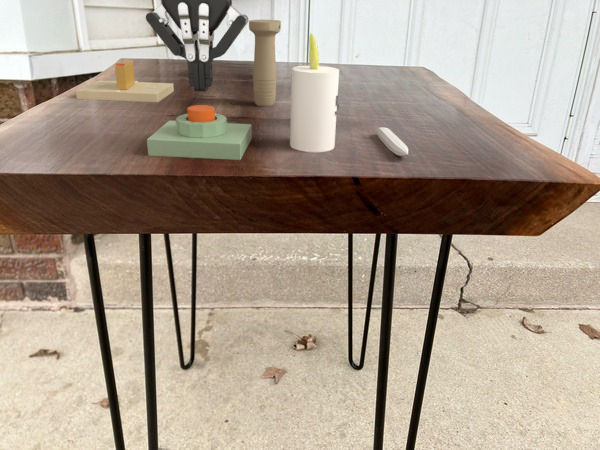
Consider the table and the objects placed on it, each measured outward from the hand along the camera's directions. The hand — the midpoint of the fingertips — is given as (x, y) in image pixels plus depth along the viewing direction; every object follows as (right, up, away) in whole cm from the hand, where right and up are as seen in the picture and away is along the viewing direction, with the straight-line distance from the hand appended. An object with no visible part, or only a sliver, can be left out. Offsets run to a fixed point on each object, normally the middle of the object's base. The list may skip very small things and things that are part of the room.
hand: (201, 90), depth 69 cm
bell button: (0, -4, +2) cm, 4 cm away
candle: (+15, -7, +5) cm, 17 cm away
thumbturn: (-18, +7, +24) cm, 31 cm away
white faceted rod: (+26, -7, +6) cm, 27 cm away
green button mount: (0, -7, +3) cm, 8 cm away
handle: (+7, +1, +22) cm, 23 cm away
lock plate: (-18, +4, +26) cm, 32 cm away
